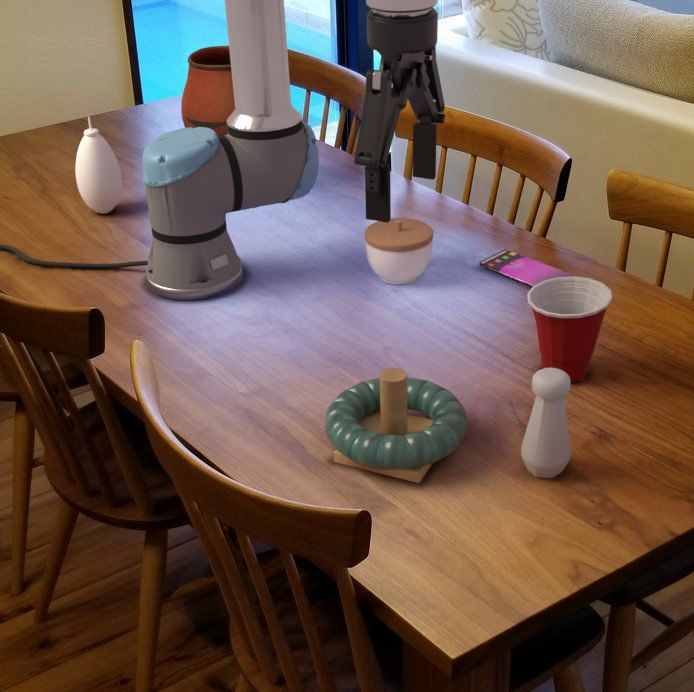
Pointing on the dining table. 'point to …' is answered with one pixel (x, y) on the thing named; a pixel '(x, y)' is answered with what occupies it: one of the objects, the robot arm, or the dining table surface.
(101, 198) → the white air blower bulb
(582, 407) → the dining table surface
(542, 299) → the plastic cup
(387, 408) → the peg stand
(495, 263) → the smartphone
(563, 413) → the salt shaker
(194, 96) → the terracotta vase
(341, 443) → the ring
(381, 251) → the trinket box
